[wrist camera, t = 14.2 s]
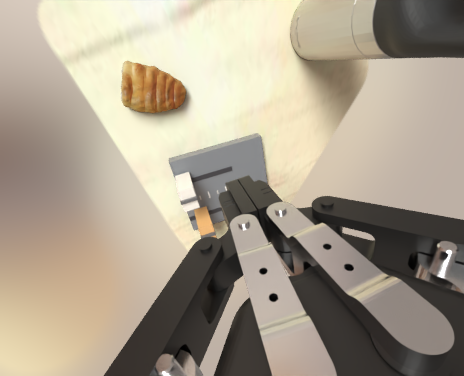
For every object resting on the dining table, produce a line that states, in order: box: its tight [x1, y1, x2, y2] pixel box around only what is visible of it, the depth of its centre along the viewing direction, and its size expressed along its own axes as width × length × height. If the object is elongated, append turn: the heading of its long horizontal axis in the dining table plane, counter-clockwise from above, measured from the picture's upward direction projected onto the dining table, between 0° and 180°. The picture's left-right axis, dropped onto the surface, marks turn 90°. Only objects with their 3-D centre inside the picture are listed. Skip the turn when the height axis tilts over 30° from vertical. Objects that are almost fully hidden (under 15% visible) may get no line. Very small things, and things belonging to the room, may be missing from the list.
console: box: [169, 134, 267, 230], centre depth 46 cm, size 17×16×2 cm
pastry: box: [121, 61, 186, 113], centre depth 35 cm, size 9×7×4 cm
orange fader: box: [194, 206, 216, 239], centre depth 44 cm, size 3×4×6 cm, turn 12°
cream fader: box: [175, 172, 200, 212], centre depth 40 cm, size 3×4×6 cm, turn 12°
